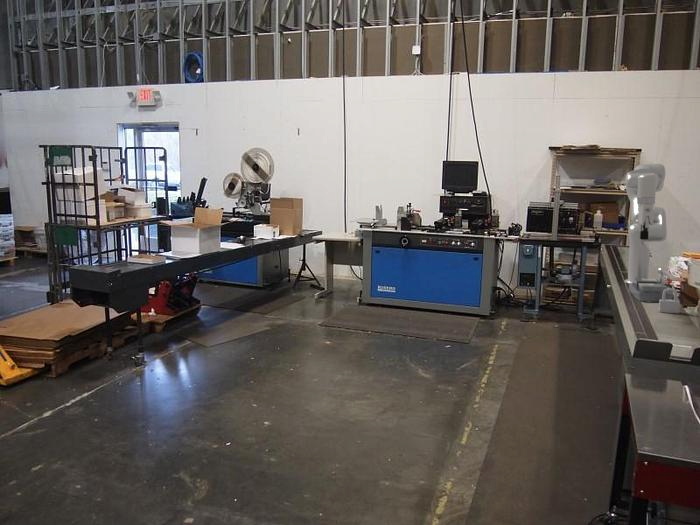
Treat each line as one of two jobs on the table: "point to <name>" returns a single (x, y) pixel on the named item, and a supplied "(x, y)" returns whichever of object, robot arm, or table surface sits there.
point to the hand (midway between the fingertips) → (644, 239)
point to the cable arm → (663, 272)
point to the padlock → (669, 303)
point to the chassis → (648, 290)
